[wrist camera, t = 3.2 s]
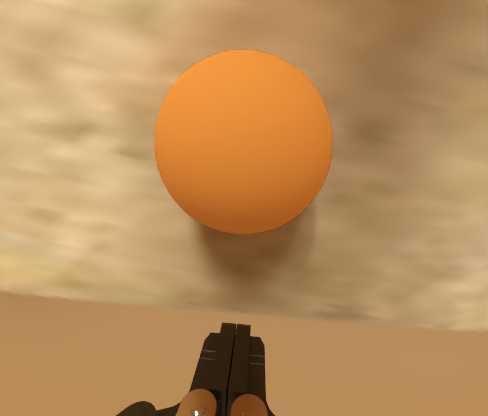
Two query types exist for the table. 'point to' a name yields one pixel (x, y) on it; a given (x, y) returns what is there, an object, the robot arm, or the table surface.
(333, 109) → the table surface
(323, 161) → the ball
